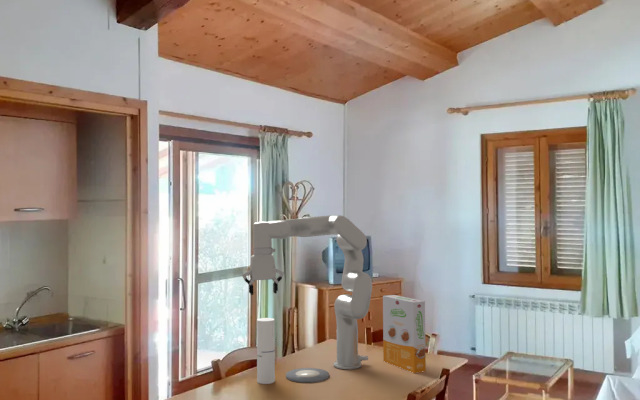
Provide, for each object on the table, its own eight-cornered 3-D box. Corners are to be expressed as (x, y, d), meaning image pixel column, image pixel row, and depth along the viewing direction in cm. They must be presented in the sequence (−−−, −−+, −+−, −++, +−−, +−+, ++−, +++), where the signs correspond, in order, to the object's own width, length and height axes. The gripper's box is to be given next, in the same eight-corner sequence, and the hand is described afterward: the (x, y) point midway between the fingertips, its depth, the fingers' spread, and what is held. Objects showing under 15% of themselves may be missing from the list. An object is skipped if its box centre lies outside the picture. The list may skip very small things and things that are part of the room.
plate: (319, 368, 243) (319, 365, 243) (335, 379, 226) (335, 376, 226) (280, 373, 236) (280, 370, 236) (294, 384, 220) (294, 381, 220)
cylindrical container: (271, 384, 220) (271, 321, 221) (254, 383, 222) (254, 320, 223) (276, 379, 228) (276, 318, 228) (260, 378, 229) (260, 317, 230)
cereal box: (425, 371, 238) (424, 301, 238) (414, 373, 235) (413, 302, 235) (394, 359, 257) (393, 294, 258) (383, 361, 254) (382, 295, 255)
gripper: (281, 250, 233) (282, 291, 233) (240, 252, 228) (241, 293, 228) (285, 251, 226) (286, 293, 226) (243, 253, 221) (244, 296, 221)
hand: (263, 293), depth 227 cm, fingers open, 9 cm apart
